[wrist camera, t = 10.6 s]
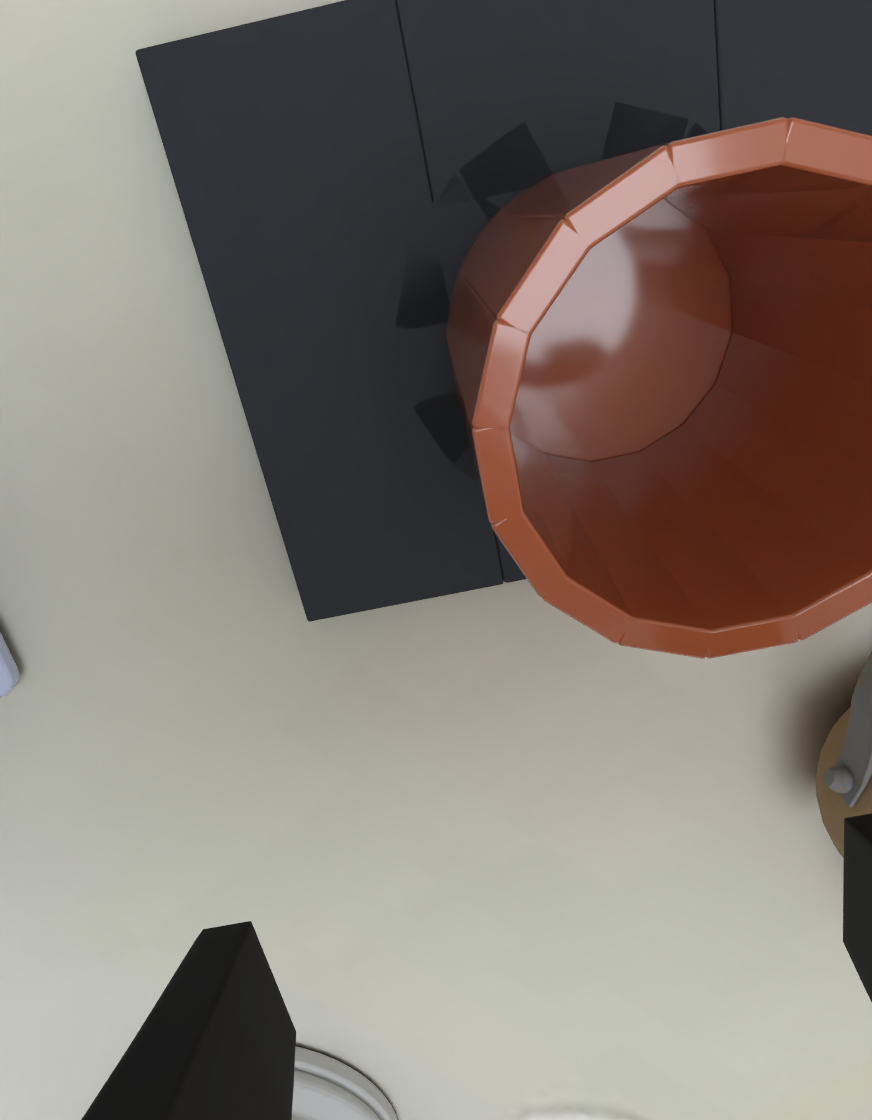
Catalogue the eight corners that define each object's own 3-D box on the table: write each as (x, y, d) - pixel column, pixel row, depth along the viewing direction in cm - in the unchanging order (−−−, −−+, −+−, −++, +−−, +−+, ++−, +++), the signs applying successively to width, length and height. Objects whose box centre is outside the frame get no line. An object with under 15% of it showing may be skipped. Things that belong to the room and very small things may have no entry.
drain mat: (311, 606, 18) (307, 622, 18) (148, 58, 14) (133, 50, 13) (1020, 467, 17) (1047, 479, 17) (1084, -163, 13) (1123, -186, 12)
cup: (476, 493, 16) (522, 694, 10) (419, 203, 14) (427, 195, 7) (746, 438, 16) (993, 606, 9) (732, 133, 14) (1043, 58, 7)
